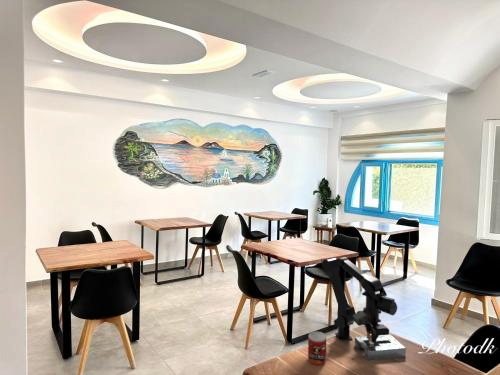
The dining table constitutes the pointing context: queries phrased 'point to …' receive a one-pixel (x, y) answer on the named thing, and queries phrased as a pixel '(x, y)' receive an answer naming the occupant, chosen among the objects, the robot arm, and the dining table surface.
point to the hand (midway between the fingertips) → (371, 340)
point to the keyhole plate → (381, 347)
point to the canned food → (317, 348)
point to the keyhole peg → (370, 339)
